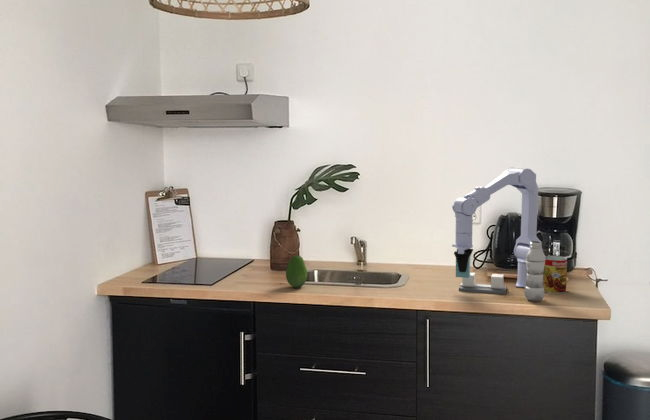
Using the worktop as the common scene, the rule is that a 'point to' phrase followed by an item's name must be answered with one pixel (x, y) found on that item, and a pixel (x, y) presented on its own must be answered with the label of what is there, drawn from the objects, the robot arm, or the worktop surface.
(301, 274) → the avocado
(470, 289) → the rail board
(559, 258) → the canned food
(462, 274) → the block
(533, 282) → the plastic bottle
